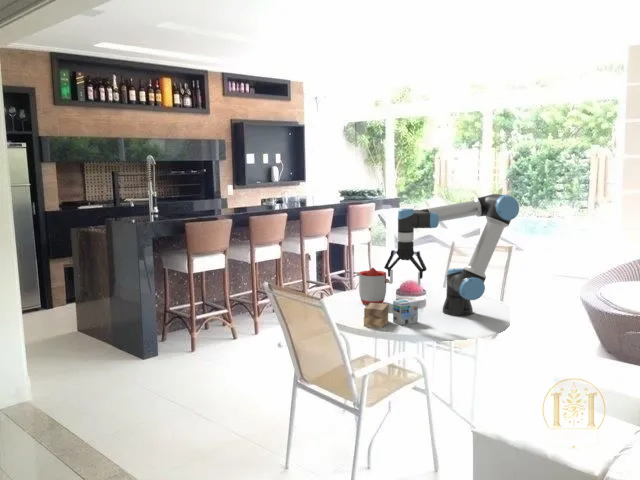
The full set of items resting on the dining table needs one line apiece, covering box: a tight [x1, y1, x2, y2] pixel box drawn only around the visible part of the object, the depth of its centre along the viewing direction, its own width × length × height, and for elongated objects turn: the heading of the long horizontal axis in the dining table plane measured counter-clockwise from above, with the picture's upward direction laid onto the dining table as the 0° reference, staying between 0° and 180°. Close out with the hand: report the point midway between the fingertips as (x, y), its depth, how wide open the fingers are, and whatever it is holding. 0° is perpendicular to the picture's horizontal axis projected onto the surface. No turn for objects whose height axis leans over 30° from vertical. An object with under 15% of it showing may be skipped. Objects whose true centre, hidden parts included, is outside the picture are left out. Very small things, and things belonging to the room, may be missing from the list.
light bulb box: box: [392, 298, 419, 326], centre depth 285 cm, size 11×7×11 cm, turn 117°
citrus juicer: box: [358, 267, 390, 306], centre depth 323 cm, size 16×17×20 cm
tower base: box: [363, 313, 389, 329], centre depth 283 cm, size 9×12×4 cm
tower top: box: [363, 303, 389, 319], centre depth 282 cm, size 9×12×4 cm
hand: (405, 284), depth 284 cm, fingers open, 13 cm apart
